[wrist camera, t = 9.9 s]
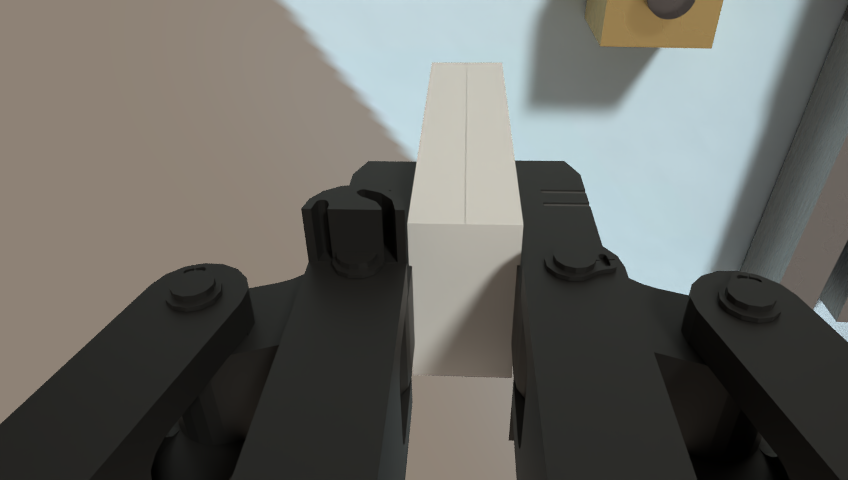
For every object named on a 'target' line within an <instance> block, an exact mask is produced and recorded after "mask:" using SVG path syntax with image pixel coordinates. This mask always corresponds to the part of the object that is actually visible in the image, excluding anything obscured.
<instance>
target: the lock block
mask: <svg viewBox="0 0 848 480" xmlns="http://www.w3.org/2000/svg"><path fill="white" fill-rule="evenodd" d="M722 4H723V0H587V4H586V11H585V19H586V21H587V23H588V25H589V27H590V29H591V30H592V32H593V34H594V36H595V38H596V40H597V41H598V43H599V45H600V46H610V47H663V48H712V44H713V40H714V36H715V32H716V28H717V24H718V20H719V16H720V12H721V8H722Z"/></svg>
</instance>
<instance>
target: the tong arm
mask: <svg viewBox="0 0 848 480" xmlns="http://www.w3.org/2000/svg"><path fill="white" fill-rule="evenodd" d="M847 240H848V6H847V9H846V11H845V14H844V16H843V19H842V21H841V23H840V26H839V28H838V31H837V33H836V36H835V38H834V41H833V43H832V46H831V48H830V51H829V53H828V56H827V58H826V61H825V63H824V65H823V68H822V70H821V73H820V75H819V78H818V80H817V83H816V85H815V88H814V90H813V93H812V95H811V98H810V100H809V103H808V105H807V107H806V110H805V112H804V115H803V117H802V120H801V122H800V125H799V127H798V130H797V132H796V135H795V137H794V140H793V142H792V145H791V147H790V149H789V152H788V154H787V157H786V159H785V162H784V164H783V167H782V169H781V172H780V174H779V177H778V179H777V182H776V184H775V187H774V189H773V191H772V194H771V196H770V199H769V201H768V204H767V206H766V209H765V211H764V214H763V216H762V219H761V221H760V224H759V226H758V229H757V231H756V233H755V236H754V238H753V241H752V243H751V246H750V248H749V251H748V253H747V256H746V258H745V261H744V263H743V266H742V268H741V271H740V272H747V273H752V274H756V275H760V276H762V277H765V278H767V279H769V280H772V281H774V282H777V283H779V284H781V285H783V286H784V287H786V288H787V289H789V290H790V291H791V292H793V293H794V294H796V295H797V296H798V297H799V298H801V299H802V300H803V301H804V302H805V303H806V304H807V305H808V306H809V307H810V308H811V309H812V310H813V308H814V306H815V304H816V302H817V300H818V298H819V296H820V294H821V292H822V290H823V288H824V286H825V284H826V282H827V280H828V278H829V276H830V274H831V272H832V270H833V268H834V266H835V264H836V262H837V260H838V258H839V256H840V254H841V252H842V250H843V248H844V246H845V244H846V242H847Z"/></svg>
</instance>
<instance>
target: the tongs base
mask: <svg viewBox="0 0 848 480" xmlns="http://www.w3.org/2000/svg"><path fill="white" fill-rule="evenodd" d="M819 298H820V299H821V301H822V302H823V304H824V305H825V306H826V308H827V309H828V311H829V312H830V313H831V315H832V316H833V318H834V319H835V320H836V322H848V240H847V242H846V244H845V246H844V248H843V250H842V252H841V254H840V256H839V258H838V260H837V262H836V264H835V266H834V268H833V270H832V272H831V274H830V276H829V278H828V280H827V282H826V284H825V286H824V288H823V290H822V292H821V294H820V296H819Z"/></svg>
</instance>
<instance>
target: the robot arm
mask: <svg viewBox="0 0 848 480" xmlns="http://www.w3.org/2000/svg"><path fill="white" fill-rule="evenodd" d="M301 210H302V217H303V224H304V231H305V238H306V245H307V252H308V259H309V263H308V266H307V269H306V271H305V274H304V275H301V276H299V277H296V278H294V279H291V280H288V281H284V282H280V283H275V284H270V285H265V286H259V287H254V288H249V287H248V282H247V278H246V277H245V276H244V275H243V274H242V273H241V272H240V271H239V270H238V269H236V268H233V267H230V266H227V265H224V264H207V263H205V264H198V265H191V266H187V267H183V268H181V269H178V270H176V271H173V272H171V273H168V274H166V275H164V276H163V277H161V278H160V279H159V280H157V281H156V282H154V283H153V284H151V285H150V286H149V287H148V288H147V289H146V290H145V291H144V292H143V293H141V294H140V295H139V296H138V297H137V298H136V299H135V300H134V301H133V302H132V303H131V304H130V305H128V306H127V307H126V308H125V309H124V310H123V311H122V312H121V313H120V314H119V315H118V316H117V317H116V318H114V319H113V320H112V321H111V322H110V323H109V324H108V325H107V326H106V327H105V328H104V329H103V330H102V331H101V332H99V333H98V334H97V335H96V336H95V337H94V338H93V339H92V340H91V341H90V342H89V343H88V344H86V345H85V347H83V348H82V349H81V350H80V351H79V352H78V353H77V354H76V355H75V356H73V358H71V359H70V360H69V361H68V362H67V363H66V364H65V365H64V366H63V367H62V368H60V370H58V371H57V372H56V373H55V374H54V375H53V376H52V377H51V378H50V379H49V380H48V381H46V382H45V383H44V384H43V385H42V386H41V387H40V388H39V389H38V390H37V391H36V392H35V393H34V394H32V395H31V396H30V397H29V398H28V399H27V400H26V401H25V402H24V403H23V404H22V405H21V406H20V407H18V408H17V409H16V410H15V411H14V412H13V413H12V414H11V415H10V416H9V417H8V418H7V419H5V420H4V421H3V422H2V423H1V424H0V480H405V474H406V464H407V454H408V443H409V432H410V422H411V410H412V383H411V382H412V381H411V376H412V366H413V375H432V376H465V377H499V378H511V377H512V366H513V374H514V382H513V395H512V408H511V419H510V432H509V440H514V445H515V460H516V475H517V480H848V342H847V341H846V340H845V339H844V338H843V337H842V336H840V335H839V334H838V333H837V332H836V331H835V330H834V329H833V328H832V327H831V326H830V325H829V324H828V323H826V322H825V321H824V320H823V319H822V318H821V317H820V316H819V315H818V314H817V313H816V312H815V311H814V310H812V309H811V308H810V307H809V306H808V305H807V304H806V303H805V302H804V301H803V300H802V299H801V298H799V297H798V296H797V295H796V294H794V293H793V292H791V291H790V290H789V289H787V288H786V287H784V286H783V285H781V284H779V283H777V282H774V281H772V280H769V279H767V278H765V277H762V276H760V275H756V274H752V273H747V272H740V271H717V272H713V273H710V274H706V275H703V276H701V277H700V278H699V279H697V280H696V281H695V282H694V283H693V284H692V286H691V290H690V293H689V295H684V294H680V293H675V292H670V291H666V290H661V289H657V288H654V287H650V286H647V285H643V284H641V283H639V282H636V281H634V280H632V279H630V278H628V275H627V272H626V269H625V267H624V265H623V264H622V262H621V261H620V259H619V258H618V256H616V255H615V254H613V253H612V252H611V251H609V250H608V249H606V248H605V247H603V246H602V243H601V240H600V237H599V234H598V230H597V227H596V224H595V221H594V217H593V214H592V211H591V208H590V206H589V201H588V198H587V195H586V193H585V188H584V185H583V182H582V179H581V175H580V174H579V173H578V172H576V171H575V170H574V169H573V168H572V167H571V166H569V165H568V164H567V163H566V162H565V161H515V157H514V150H513V142H512V135H511V127H510V120H509V112H508V104H507V97H506V89H505V82H504V74H503V66H502V63H432V66H431V72H430V79H429V85H428V92H427V98H426V105H425V111H424V118H423V124H422V131H421V137H420V144H419V150H418V157H417V162H386V161H382V162H381V161H368V162H367V163H366V164H365V165H364V166H362V167H361V168H360V169H359V170H358V171H356V172H355V173H354V174H353V176H352V179H351V182H350V185H349V186H340V187H336V188H333V189H329V190H326V191H323V192H321V193H319V194H317V195H316V196H314V197H312V198H310V199H309V200H308V201H307V202H306V204H305V205H304V206H303V207H302V209H301Z"/></svg>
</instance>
